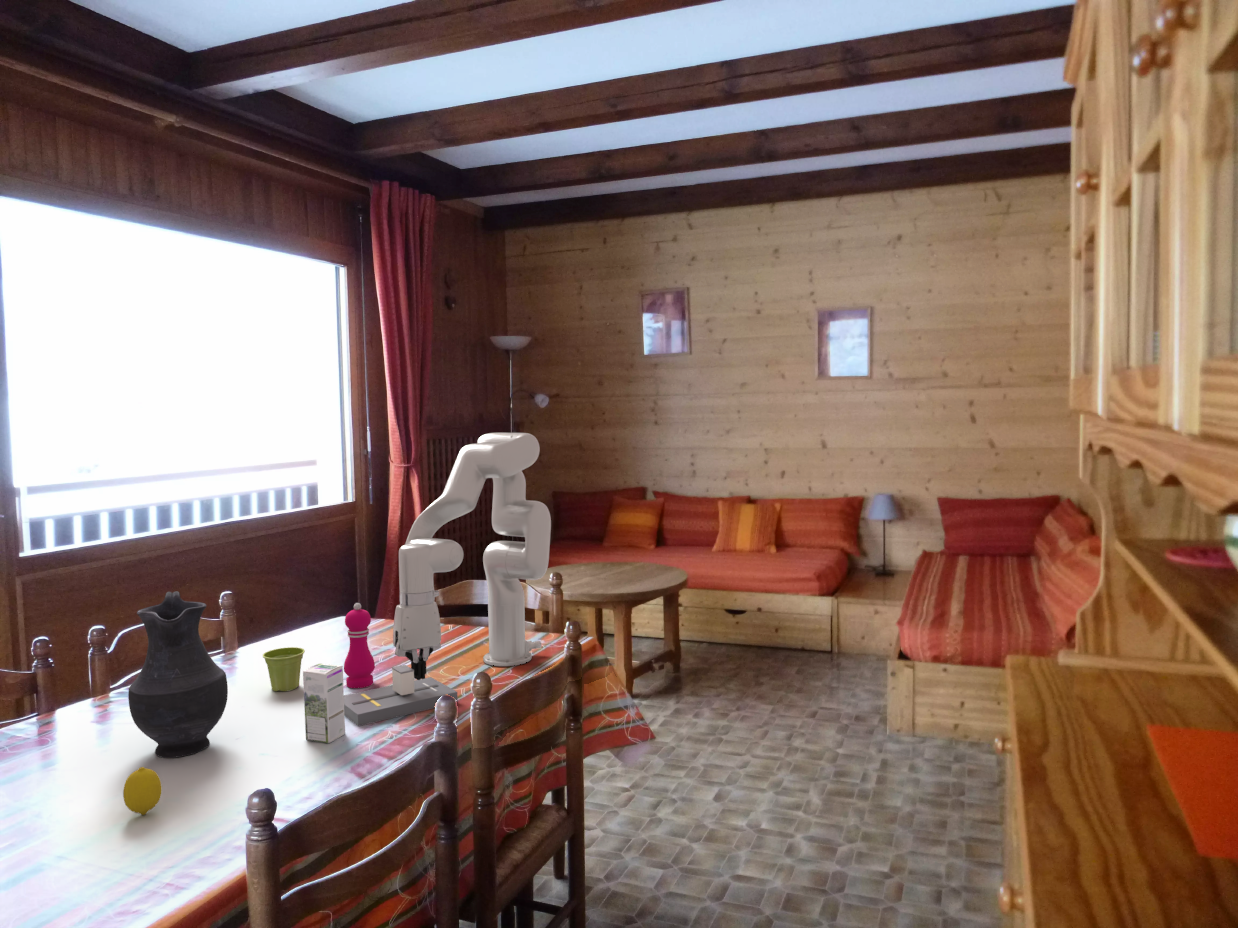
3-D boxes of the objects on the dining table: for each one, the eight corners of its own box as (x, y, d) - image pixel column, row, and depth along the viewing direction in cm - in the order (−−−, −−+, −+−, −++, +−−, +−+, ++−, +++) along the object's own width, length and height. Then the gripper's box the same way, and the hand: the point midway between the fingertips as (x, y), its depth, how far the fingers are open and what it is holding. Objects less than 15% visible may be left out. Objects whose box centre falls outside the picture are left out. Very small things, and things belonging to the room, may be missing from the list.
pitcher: (129, 773, 160) (121, 612, 158) (133, 736, 178) (126, 591, 176) (232, 754, 168) (226, 601, 166) (226, 721, 186) (220, 583, 184)
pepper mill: (379, 680, 213) (377, 599, 212) (368, 689, 206) (366, 606, 205) (351, 679, 214) (349, 599, 213) (339, 688, 207) (336, 606, 206)
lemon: (134, 807, 146) (131, 761, 145) (168, 806, 146) (166, 759, 146) (118, 823, 140) (115, 775, 140) (153, 821, 141) (151, 773, 140)
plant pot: (272, 697, 202) (271, 660, 201) (258, 687, 209) (256, 652, 208) (312, 688, 208) (310, 652, 207) (297, 679, 215) (295, 644, 214)
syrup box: (346, 733, 178) (344, 664, 177) (328, 744, 172) (325, 672, 171) (323, 730, 180) (320, 661, 179) (304, 741, 174) (301, 670, 173)
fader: (405, 686, 198) (404, 664, 198) (414, 692, 194) (414, 669, 194) (392, 689, 197) (391, 667, 196) (401, 695, 193) (400, 672, 192)
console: (430, 687, 207) (430, 676, 207) (457, 702, 196) (457, 691, 196) (335, 708, 193) (334, 696, 193) (358, 725, 182) (357, 713, 182)
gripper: (439, 591, 204) (441, 668, 205) (378, 600, 195) (381, 680, 196) (454, 596, 198) (456, 675, 199) (392, 605, 189) (394, 688, 190)
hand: (418, 677), depth 198 cm, fingers closed
